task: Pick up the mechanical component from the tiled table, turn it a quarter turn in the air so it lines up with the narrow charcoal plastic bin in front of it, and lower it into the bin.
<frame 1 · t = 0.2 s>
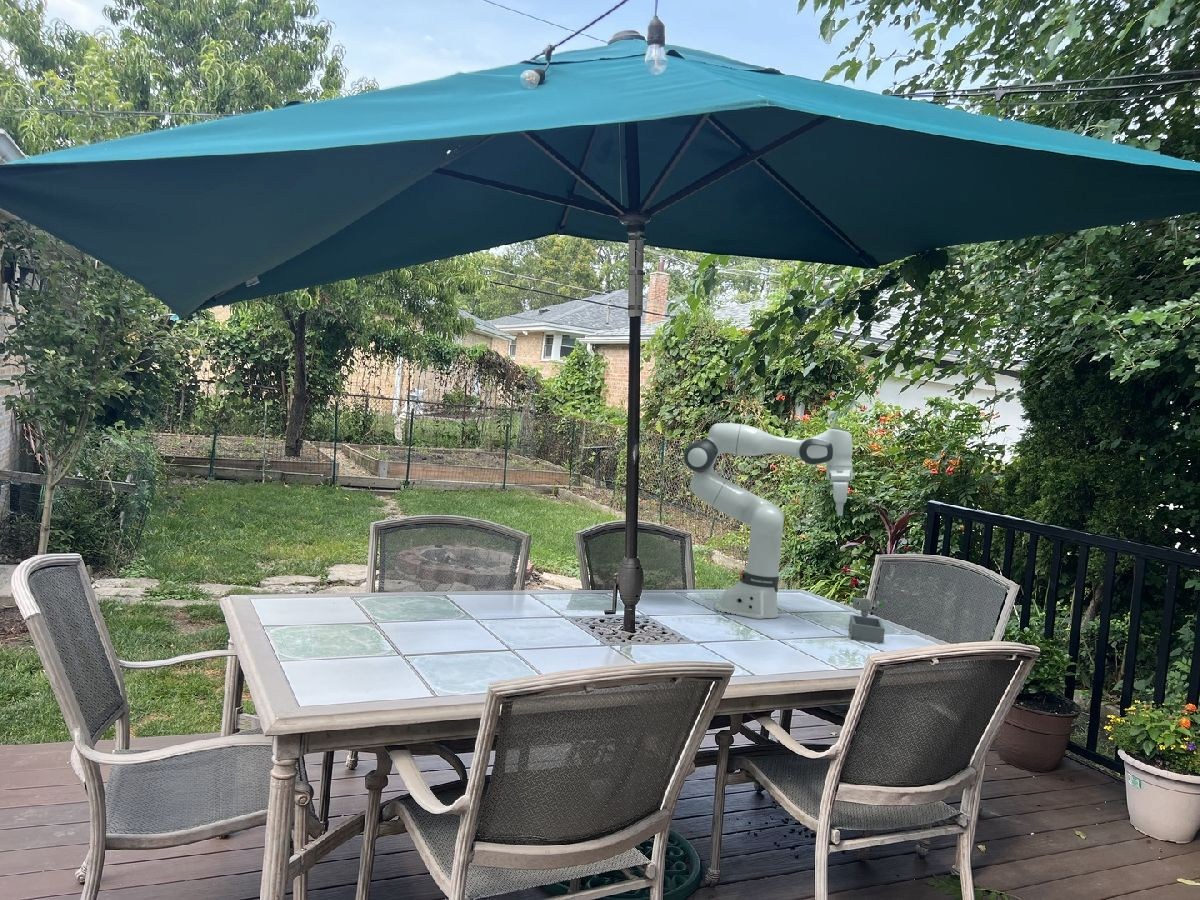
hand: (839, 514, 295), 39 cm above the table, tool pointing down, fingers open, 8 cm apart
mechanical component: (862, 628, 295), on the table
bin: (865, 636, 283), on the table
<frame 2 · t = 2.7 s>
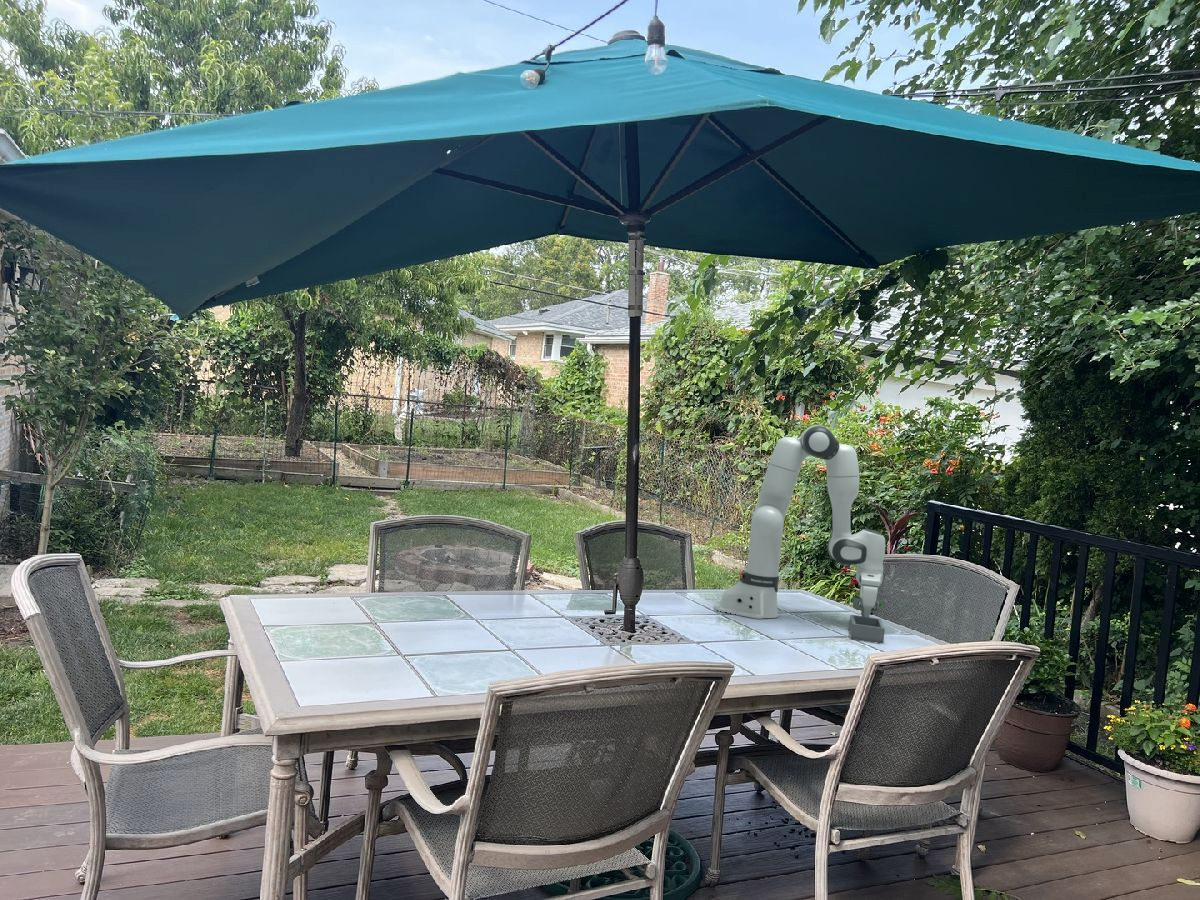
hand: (865, 615, 295), 4 cm above the table, tool pointing down, fingers open, 8 cm apart
nothing on the table moved.
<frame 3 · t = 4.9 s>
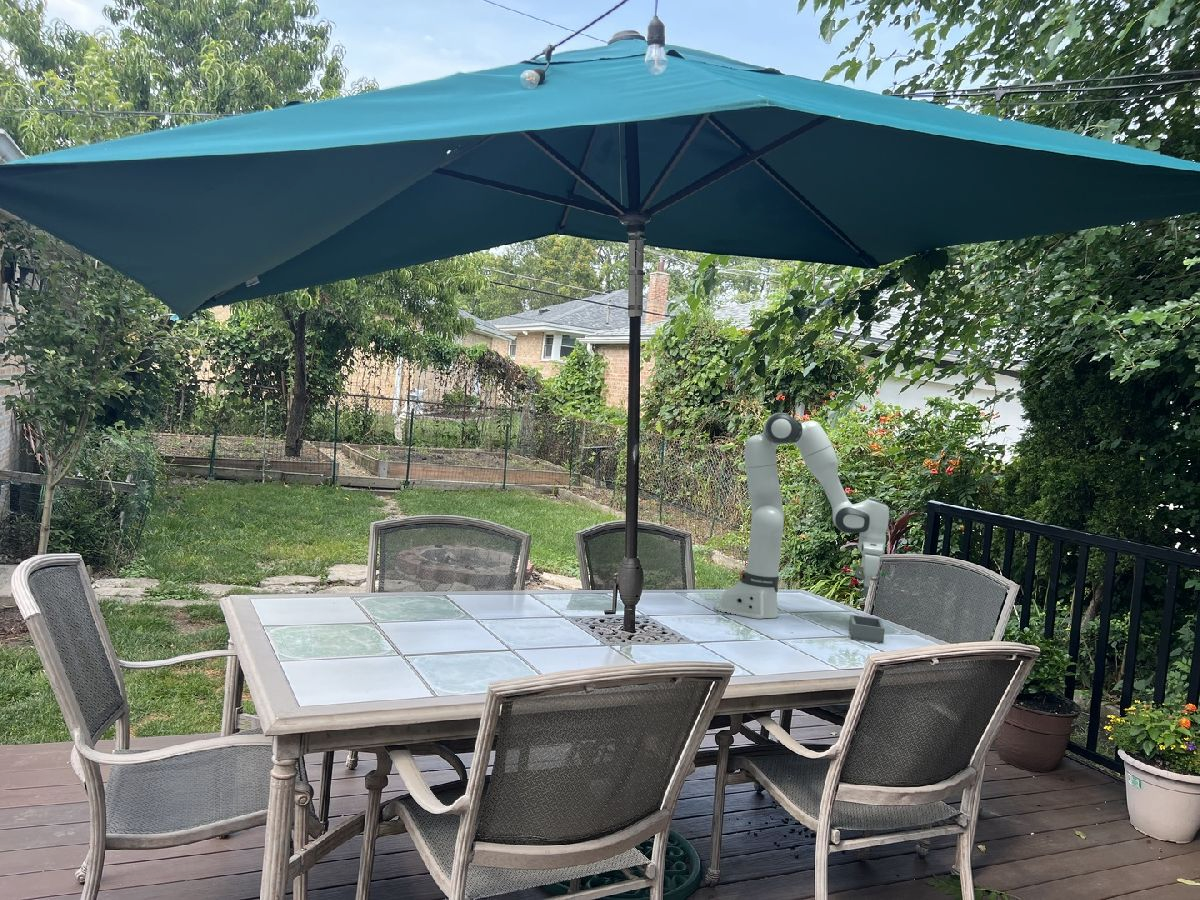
hand: (866, 585, 295), 15 cm above the table, tool pointing down, fingers closed on mechanical component, 3 cm apart
mechanical component: (864, 597, 295), point 11 cm above the table, touching gripper
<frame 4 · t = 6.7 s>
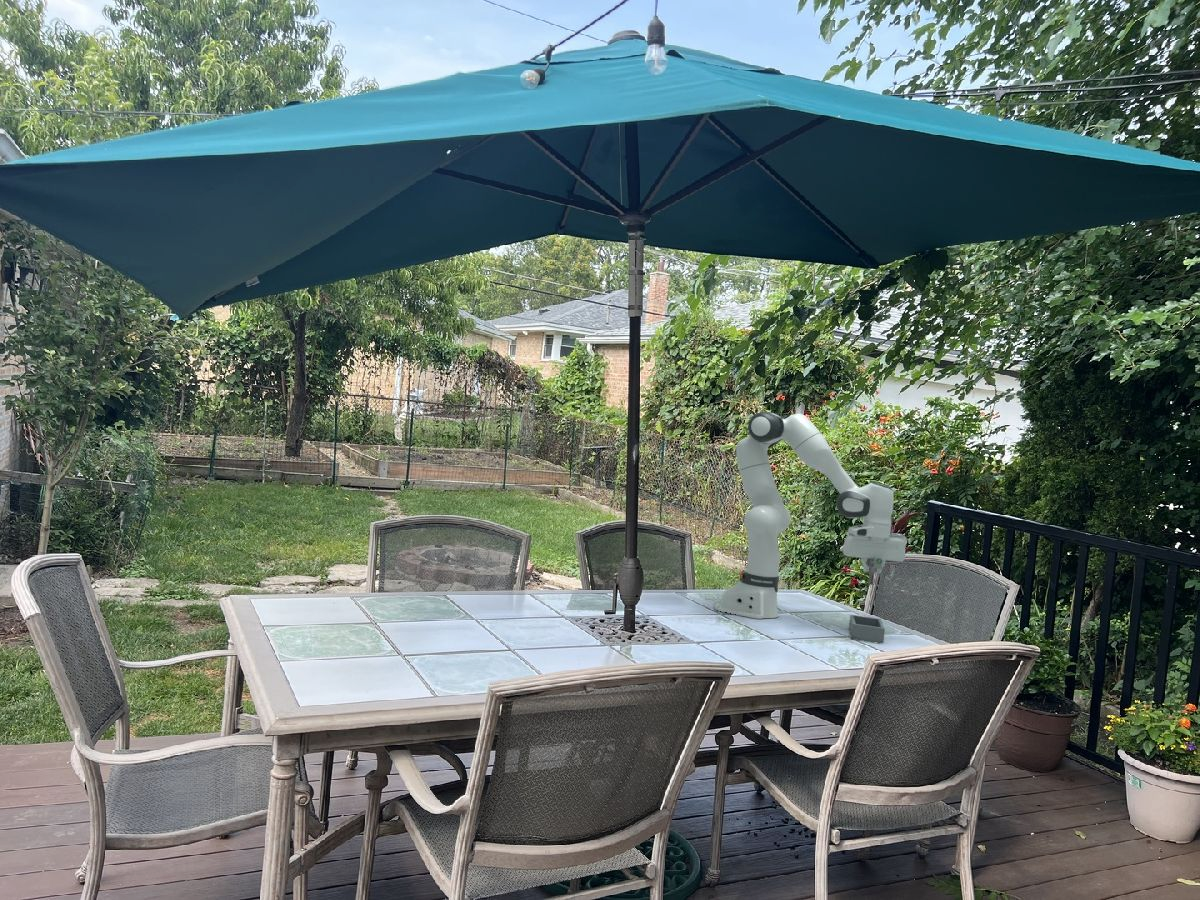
hand: (871, 572, 285), 21 cm above the table, tool pointing down, fingers closed on mechanical component, 3 cm apart
mechanical component: (870, 585, 285), point 17 cm above the table, touching gripper
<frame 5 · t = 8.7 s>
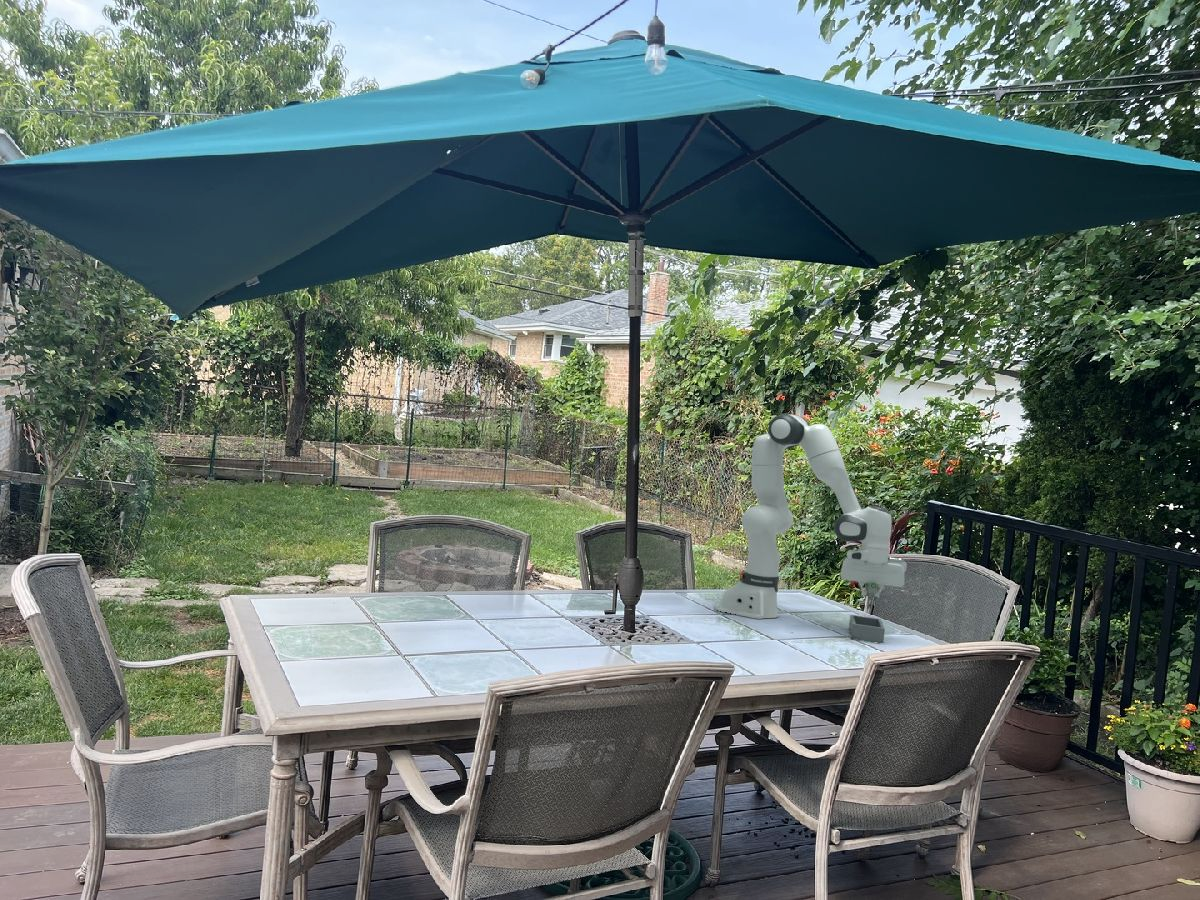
hand: (870, 596, 282), 13 cm above the table, tool pointing down, fingers closed on mechanical component, 3 cm apart
mechanical component: (868, 610, 282), point 9 cm above the table, touching gripper
when the fingers open (7 cm above the table, at t = 10.1 s): mechanical component drops 1 cm, resting on bin.
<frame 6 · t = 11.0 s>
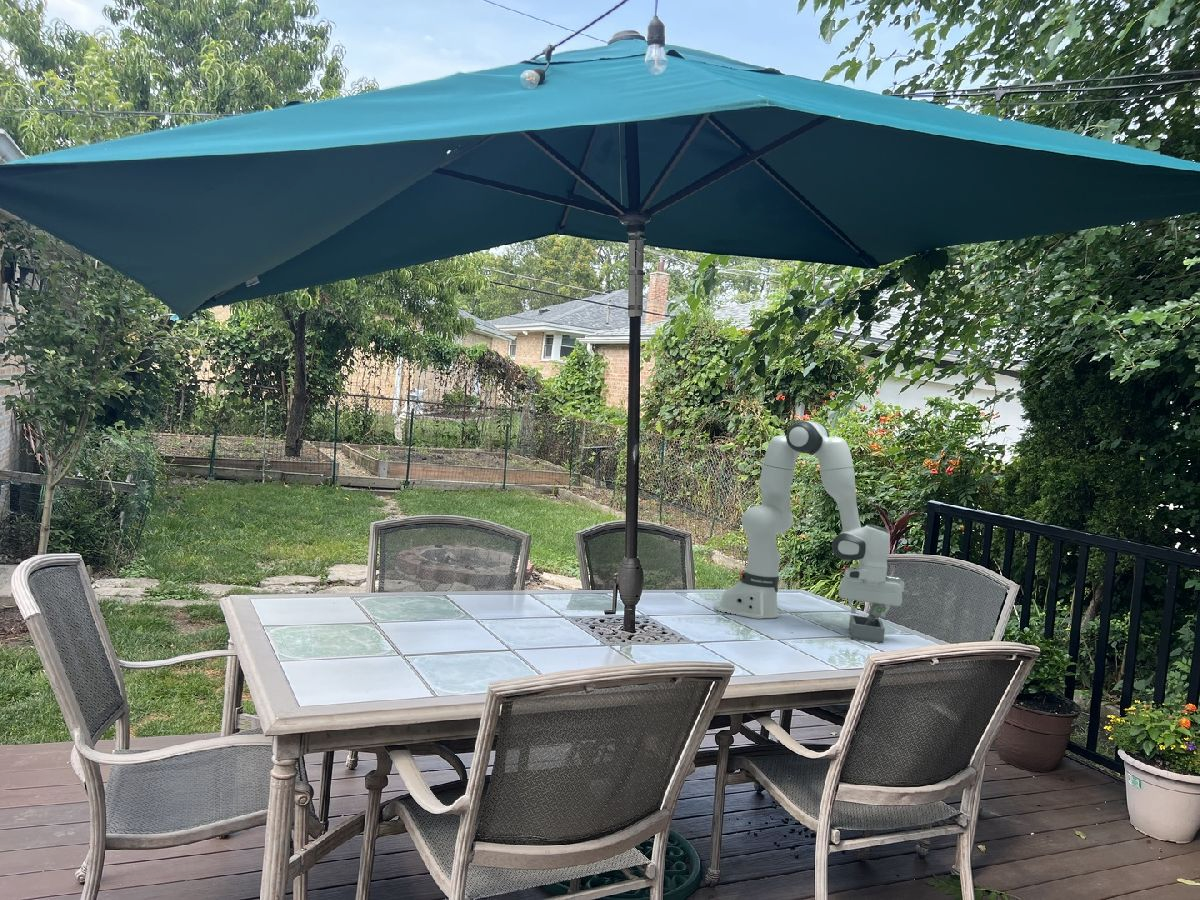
hand: (867, 615, 282), 7 cm above the table, tool pointing down, fingers open, 8 cm apart
mechanical component: (862, 632, 283), point 1 cm above the table, touching bin, gripper
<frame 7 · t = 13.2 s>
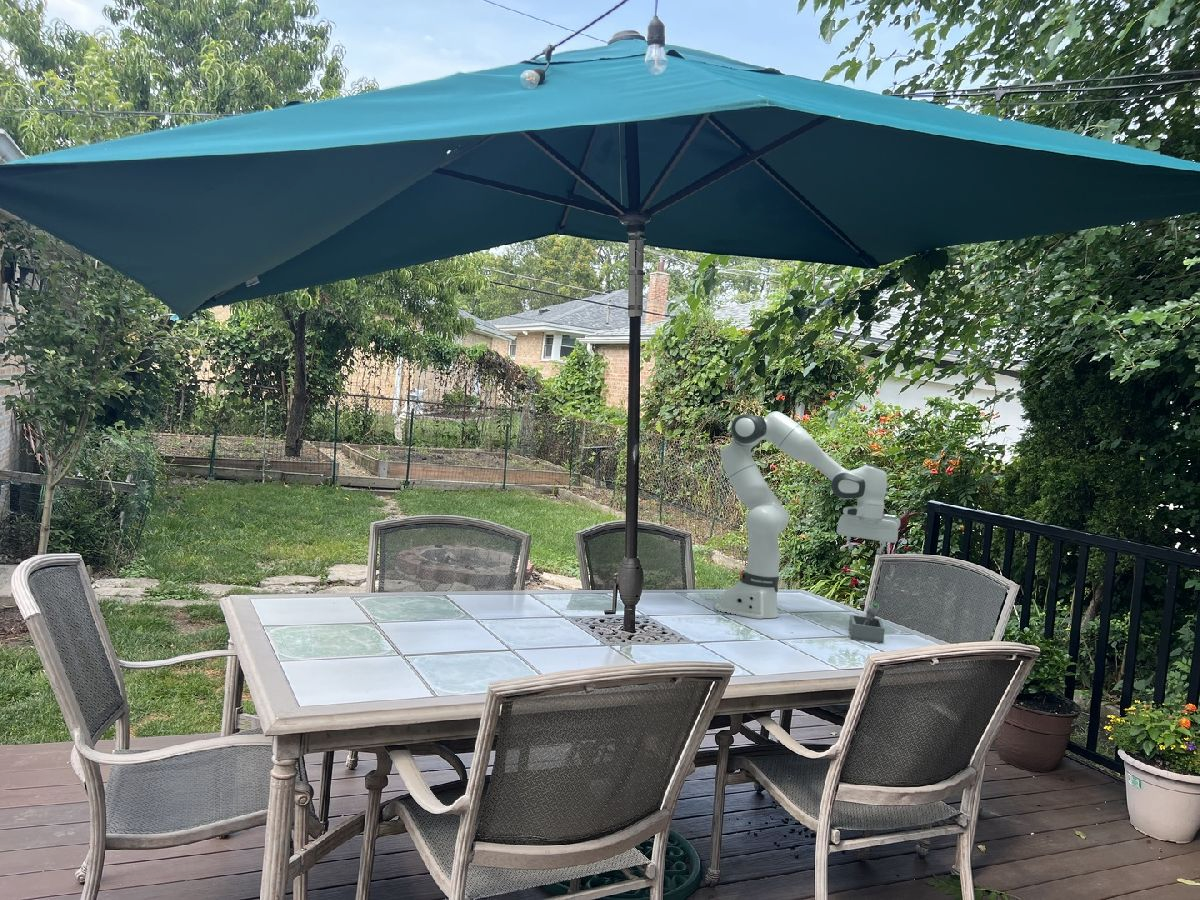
hand: (864, 551, 293), 27 cm above the table, tool pointing down, fingers open, 8 cm apart
mechanical component: (862, 631, 283), point 1 cm above the table, touching bin
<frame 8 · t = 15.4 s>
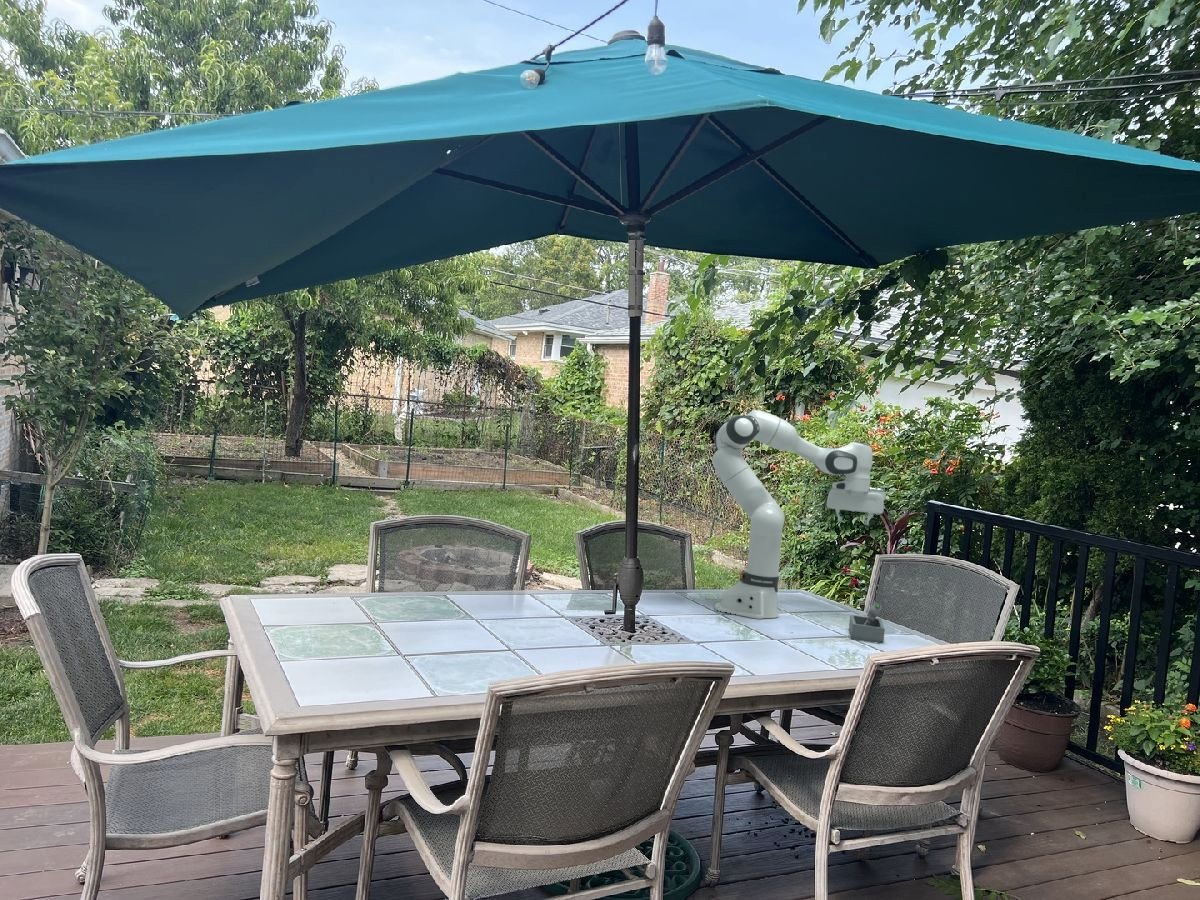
hand: (852, 523, 313), 34 cm above the table, tool pointing down, fingers open, 8 cm apart
nothing on the table moved.
at the end: mechanical component inside the target area on the bin (1.8 cm from its centre), point 2.7 cm above the bin's base; the gripper is holding nothing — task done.
